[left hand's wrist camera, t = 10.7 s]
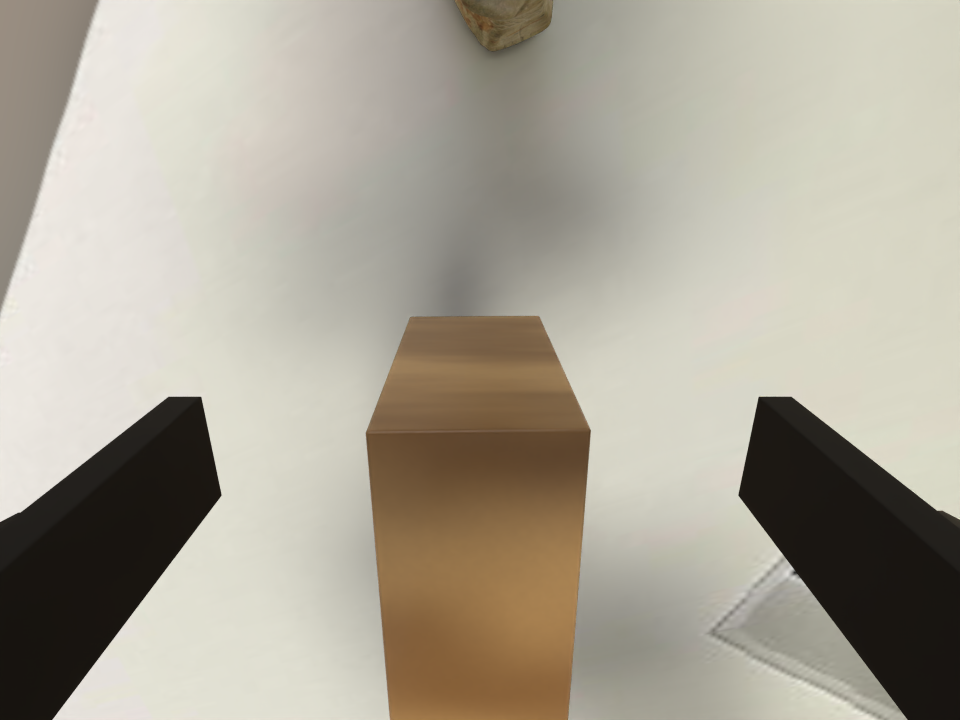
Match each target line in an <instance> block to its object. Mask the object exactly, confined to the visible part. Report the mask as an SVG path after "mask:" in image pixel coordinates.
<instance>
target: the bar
mask: <svg viewBox="0 0 960 720" xmlns="http://www.w3.org/2000/svg"><path fill="white" fill-rule="evenodd" d="M590 435H591V430H590V428H589V426H588V423H587V421H586V419H585V417H584V414H583V412H582V410H581V408H580V406H579V403H578V401H577V399H576V397H575V395H574V392H573V390H572V388H571V386H570V383H569V381H568V379H567V377H566V375H565V372H564V370H563V368H562V366H561V364H560V361H559V359H558V357H557V355H556V353H555V350H554V348H553V346H552V344H551V341H550V339H549V337H548V335H547V333H546V330H545V328H544V326H543V324H542V322H541V319H540V317H539V316H454V317H410V319H409V321H408V324H407V327H406V329H405V332H404V335H403V337H402V340H401V342H400V345H399V348H398V350H397V353H396V355H395V358H394V361H393V363H392V366H391V369H390V371H389V374H388V376H387V379H386V382H385V384H384V387H383V389H382V392H381V395H380V397H379V400H378V403H377V405H376V408H375V410H374V413H373V416H372V418H371V421H370V423H369V426H368V429H367V431H366V442H367V454H368V465H369V477H370V489H371V501H372V513H373V525H374V536H375V548H376V560H377V572H378V584H379V596H380V607H381V619H382V631H383V643H384V655H385V667H386V678H387V690H388V702H389V714H390V720H568V713H569V700H570V688H571V675H572V662H573V650H574V637H575V624H576V612H577V599H578V587H579V574H580V561H581V549H582V536H583V523H584V511H585V498H586V485H587V473H588V460H589V448H590Z"/></svg>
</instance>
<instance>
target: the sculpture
mask: <svg viewBox="0 0 960 720" xmlns="http://www.w3.org/2000/svg"><path fill="white" fill-rule="evenodd" d="M455 2H456V4H457V6H458V8H459V10H460V12H461V14H462V16H463V18H464V20H465V21H466V23H467V25H468V26H469V28H470V30H471V31H472V32H473V34H474V35H475V36H476V38H477V39H478V41H479V42H480V44H481V45H483V46H484V47H486V48H487V49H488V50H490V51H497V50H501V49H504V48H507V47H509V46H512V45H515V44H517V43H519V42H522V41H524V40H526V39H528V38H530V37H532V36H534V35H536V34H538V33H540V32H542V31H543V30H545V29H546V28H547V27H548V26H549V24H550V22H551V18H552V8H553V0H455Z"/></svg>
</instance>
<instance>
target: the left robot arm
mask: <svg viewBox="0 0 960 720" xmlns="http://www.w3.org/2000/svg"><path fill="white" fill-rule="evenodd" d="M221 496H222V495H221V490H220V485H219V480H218V476H217V471H216V466H215V461H214V456H213V451H212V447H211V442H210V437H209V432H208V427H207V422H206V418H205V413H204V408H203V403H202V398H201V397H168V398H166V399H165V400H164V401H163V402H161V403H160V404H159V405H158V406H156V407H155V408H154V409H152V410H151V411H150V412H149V413H147V414H146V415H145V416H144V417H142V418H141V419H140V420H138V421H137V422H136V423H135V424H133V425H132V426H131V427H129V428H128V429H127V430H126V431H124V432H123V433H122V434H121V435H119V436H118V437H117V438H115V439H114V440H113V441H112V442H110V443H109V444H108V445H106V446H105V447H104V448H103V449H101V450H100V451H99V452H98V453H96V454H95V455H94V456H92V457H91V458H90V459H89V460H87V461H86V462H85V463H83V464H82V465H81V466H80V467H78V468H77V469H76V470H75V471H73V472H72V473H71V474H69V475H68V476H67V477H66V478H64V479H63V480H62V481H60V482H59V483H58V484H57V485H55V486H54V487H53V488H52V489H50V490H49V491H48V492H46V493H45V494H44V495H43V496H41V497H40V498H39V499H37V500H36V501H35V502H34V503H32V504H31V505H30V506H29V507H27V508H26V509H25V510H23V511H22V512H21V513H17V514H15V515H13V516H11V517H9V518H7V519H5V520H3V521H1V522H0V720H52V719H53V718H54V717H55V715H56V714H57V713H58V711H59V710H60V709H61V707H62V706H63V705H64V703H65V702H66V701H67V700H68V698H69V697H70V696H71V694H72V693H73V692H74V690H75V689H76V688H77V686H78V685H79V684H80V682H81V681H82V680H83V678H84V677H85V676H86V674H87V673H88V672H89V670H90V669H91V668H92V666H93V665H94V664H95V662H96V661H97V660H98V658H99V657H100V656H101V654H102V653H103V652H104V650H105V649H106V648H107V647H108V645H109V644H110V643H111V641H112V640H113V639H114V637H115V636H116V635H117V633H118V632H119V631H120V629H121V628H122V627H123V625H124V624H125V623H126V621H127V620H128V619H129V617H130V616H131V615H132V613H133V612H134V611H135V609H136V608H137V607H138V605H139V604H140V603H141V601H142V600H143V599H144V598H145V596H146V595H147V594H148V592H149V591H150V590H151V588H152V587H153V586H154V584H155V583H156V582H157V580H158V579H159V578H160V576H161V575H162V574H163V572H164V571H165V570H166V568H167V567H168V566H169V564H170V563H171V562H172V560H173V559H174V558H175V556H176V555H177V554H178V552H179V551H180V550H181V548H182V547H183V546H184V545H185V543H186V542H187V541H188V539H189V538H190V537H191V535H192V534H193V533H194V531H195V530H196V529H197V527H198V526H199V525H200V523H201V522H202V521H203V519H204V518H205V517H206V515H207V514H208V513H209V511H210V510H211V509H212V507H213V506H214V505H215V503H216V502H217V501H218V499H219V498H220V497H221ZM738 496H739V497H740V498H741V499H742V501H743V502H744V503H745V505H746V506H747V507H748V509H749V510H750V511H751V513H752V514H753V515H754V517H755V518H756V519H757V521H758V522H759V523H760V525H761V526H762V527H763V529H764V530H765V531H766V533H767V534H768V535H769V537H770V538H771V539H772V541H773V542H774V543H775V545H776V546H777V547H778V548H779V550H780V551H781V552H782V554H783V555H784V556H785V558H786V559H787V560H788V562H789V563H790V564H791V566H792V567H793V568H794V570H795V571H796V572H797V574H798V575H799V576H800V578H801V579H802V580H803V582H804V583H805V584H806V586H807V587H808V588H809V590H810V591H811V592H812V594H813V595H814V596H815V598H816V599H817V600H818V601H819V603H820V604H821V605H822V607H823V608H824V609H825V611H826V612H827V613H828V615H829V616H830V617H831V619H832V620H833V621H834V623H835V624H836V625H837V627H838V628H839V629H840V631H841V632H842V633H843V635H844V636H845V637H846V639H847V640H848V641H849V643H850V644H851V645H852V647H853V648H854V649H855V650H856V652H857V653H858V654H859V656H860V657H861V658H862V660H863V661H864V662H865V664H866V665H867V666H868V668H869V669H870V670H871V672H872V673H873V674H874V676H875V677H876V678H877V680H878V681H879V682H880V684H881V685H882V686H883V688H884V689H885V690H886V692H887V693H888V694H889V696H890V697H891V698H892V700H893V701H894V702H895V703H896V705H897V706H898V707H899V709H900V710H901V711H902V713H903V714H904V715H905V717H906V718H907V719H908V720H960V520H959V519H957V518H955V517H953V516H951V515H949V514H948V513H946V512H944V511H937V510H935V509H934V508H933V507H931V506H930V505H929V504H928V503H926V502H925V501H924V500H923V499H921V498H920V497H919V496H917V495H916V494H915V493H914V492H912V491H911V490H910V489H908V488H907V487H906V486H905V485H903V484H902V483H901V482H900V481H898V480H897V479H896V478H894V477H893V476H892V475H891V474H889V473H888V472H887V471H885V470H884V469H883V468H882V467H880V466H879V465H878V464H877V463H875V462H874V461H873V460H871V459H870V458H869V457H868V456H866V455H865V454H864V453H862V452H861V451H860V450H859V449H857V448H856V447H855V446H854V445H852V444H851V443H850V442H848V441H847V440H846V439H845V438H843V437H842V436H841V435H839V434H838V433H837V432H836V431H834V430H833V429H832V428H831V427H829V426H828V425H827V424H825V423H824V422H823V421H822V420H820V419H819V418H818V417H816V416H815V415H814V414H813V413H811V412H810V411H809V410H808V409H806V408H805V407H804V406H802V405H801V404H800V403H799V402H797V401H796V400H795V399H794V398H792V397H759V398H758V403H757V408H756V413H755V418H754V422H753V427H752V432H751V437H750V442H749V447H748V451H747V456H746V461H745V466H744V471H743V476H742V480H741V485H740V490H739V495H738Z"/></svg>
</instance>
